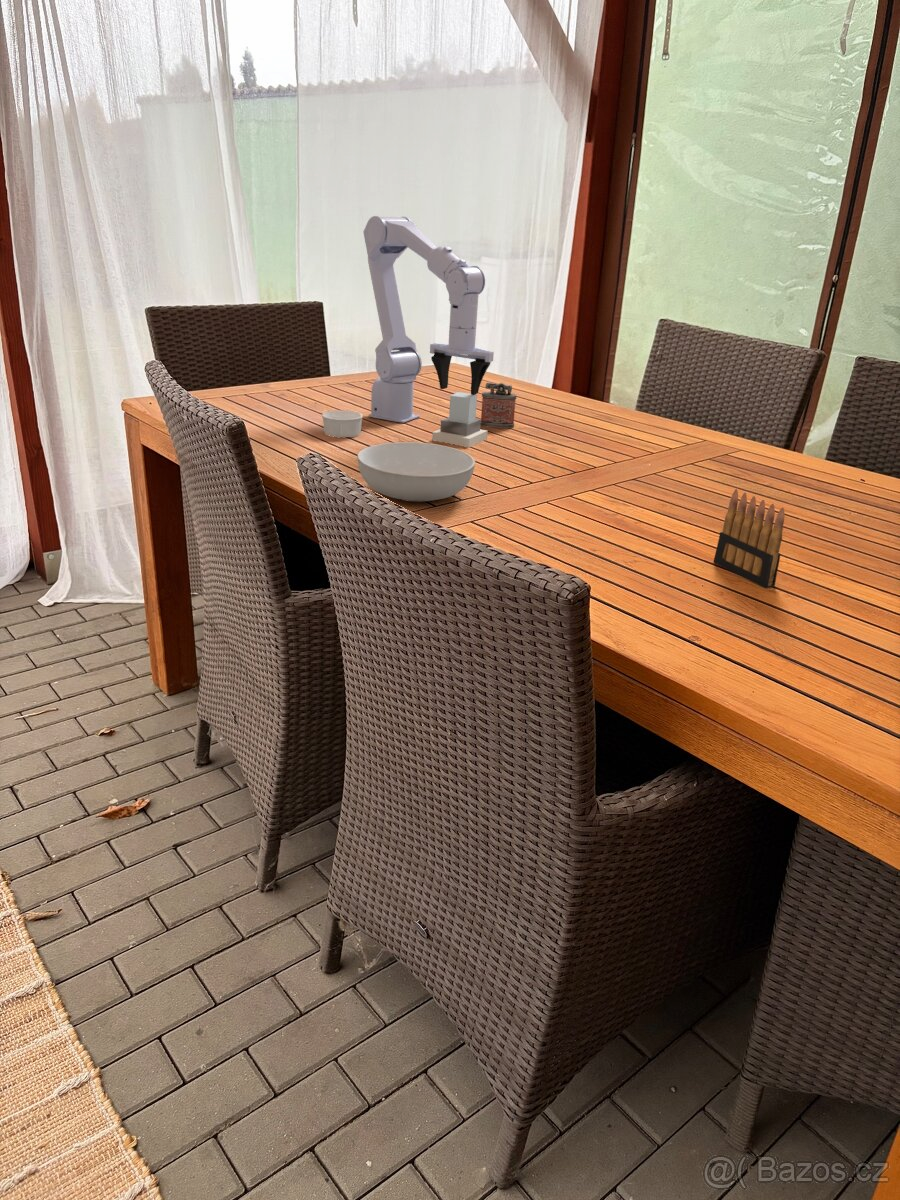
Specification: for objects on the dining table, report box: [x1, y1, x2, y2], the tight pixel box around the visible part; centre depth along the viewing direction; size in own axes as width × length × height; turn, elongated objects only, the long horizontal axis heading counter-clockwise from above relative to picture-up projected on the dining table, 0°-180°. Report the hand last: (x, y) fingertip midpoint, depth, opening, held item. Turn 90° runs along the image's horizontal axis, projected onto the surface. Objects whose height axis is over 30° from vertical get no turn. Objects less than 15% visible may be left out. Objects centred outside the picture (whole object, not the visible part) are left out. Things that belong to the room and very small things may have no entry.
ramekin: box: [321, 409, 363, 438], centre depth 195 cm, size 9×9×4 cm
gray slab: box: [439, 416, 481, 436], centre depth 195 cm, size 6×6×2 cm
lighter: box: [480, 382, 518, 429], centre depth 207 cm, size 8×3×10 cm, turn 84°
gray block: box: [448, 391, 478, 424], centre depth 193 cm, size 4×4×6 cm
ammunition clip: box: [713, 489, 785, 589], centre depth 131 cm, size 11×2×12 cm, turn 29°
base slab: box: [431, 428, 489, 448], centre depth 196 cm, size 9×9×2 cm
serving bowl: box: [356, 441, 476, 503], centre depth 159 cm, size 21×21×7 cm
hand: (458, 391), depth 195 cm, fingers open, 7 cm apart
